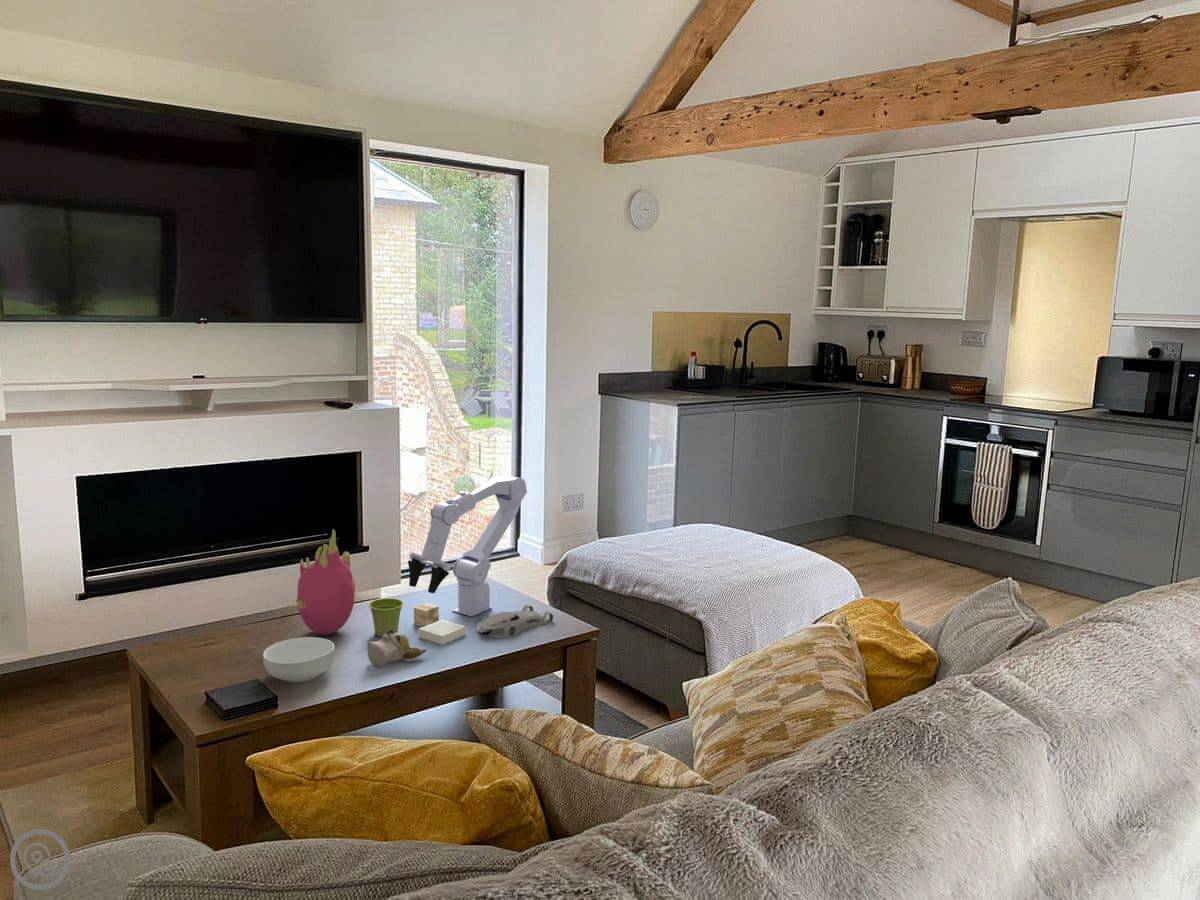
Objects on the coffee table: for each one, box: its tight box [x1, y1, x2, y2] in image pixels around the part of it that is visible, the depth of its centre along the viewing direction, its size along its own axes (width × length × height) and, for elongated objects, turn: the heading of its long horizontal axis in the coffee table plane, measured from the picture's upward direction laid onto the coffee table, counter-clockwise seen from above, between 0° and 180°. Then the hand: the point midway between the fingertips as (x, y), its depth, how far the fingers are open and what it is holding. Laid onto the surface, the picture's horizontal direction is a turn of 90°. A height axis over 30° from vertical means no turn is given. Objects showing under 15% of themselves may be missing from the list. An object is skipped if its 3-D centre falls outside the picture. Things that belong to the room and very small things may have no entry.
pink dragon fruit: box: [295, 528, 356, 636], centre depth 248 cm, size 18×14×30 cm
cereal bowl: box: [262, 636, 336, 683], centre depth 221 cm, size 17×17×7 cm
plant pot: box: [368, 597, 404, 637], centre depth 250 cm, size 9×9×9 cm
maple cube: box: [413, 602, 440, 627], centre depth 259 cm, size 5×5×5 cm
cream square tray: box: [418, 619, 466, 645], centre depth 249 cm, size 9×9×3 cm
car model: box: [476, 604, 555, 639], centre depth 258 cm, size 11×24×5 cm, turn 137°
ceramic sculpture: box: [366, 630, 427, 668], centre depth 231 cm, size 11×9×15 cm
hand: (421, 589), depth 256 cm, fingers open, 7 cm apart
